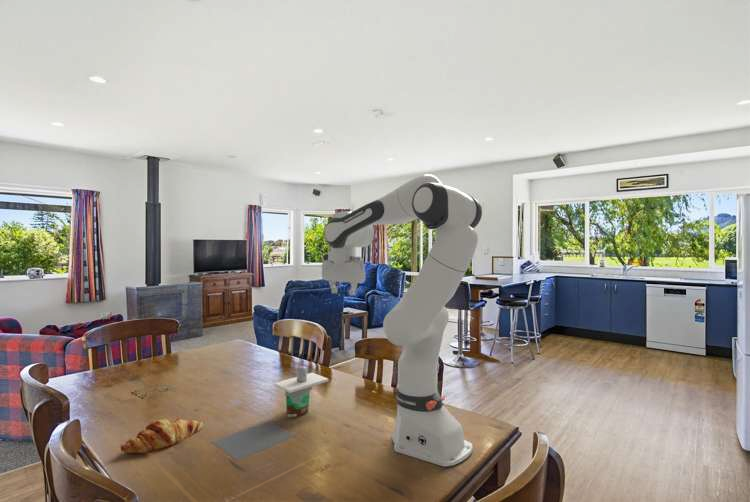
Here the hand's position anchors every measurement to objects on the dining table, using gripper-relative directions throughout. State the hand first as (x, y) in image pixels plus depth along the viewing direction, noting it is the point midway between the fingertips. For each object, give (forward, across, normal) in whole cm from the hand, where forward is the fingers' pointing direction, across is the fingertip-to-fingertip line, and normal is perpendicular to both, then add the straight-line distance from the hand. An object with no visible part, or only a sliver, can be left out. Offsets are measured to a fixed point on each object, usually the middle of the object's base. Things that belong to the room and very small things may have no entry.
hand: (343, 294), depth 146 cm
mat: (+37, -7, +40) cm, 55 cm away
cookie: (+38, +55, +46) cm, 81 cm away
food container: (+37, -2, +20) cm, 42 cm away
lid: (+27, -2, +20) cm, 34 cm away
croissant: (+38, +10, +58) cm, 69 cm away
